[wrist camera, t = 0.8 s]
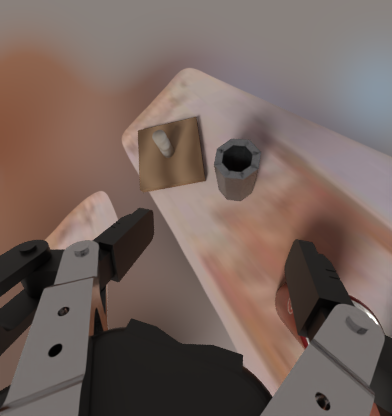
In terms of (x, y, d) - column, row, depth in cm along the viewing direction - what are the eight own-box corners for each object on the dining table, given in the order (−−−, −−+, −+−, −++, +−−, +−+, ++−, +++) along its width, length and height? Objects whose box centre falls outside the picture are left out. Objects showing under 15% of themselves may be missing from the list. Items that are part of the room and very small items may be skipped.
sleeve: (254, 172, 35) (262, 140, 26) (250, 202, 34) (257, 180, 24) (222, 169, 37) (219, 137, 27) (217, 198, 35) (211, 176, 26)
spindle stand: (197, 121, 41) (190, 95, 34) (205, 180, 37) (199, 163, 30) (141, 134, 42) (124, 111, 36) (143, 192, 39) (125, 178, 32)
